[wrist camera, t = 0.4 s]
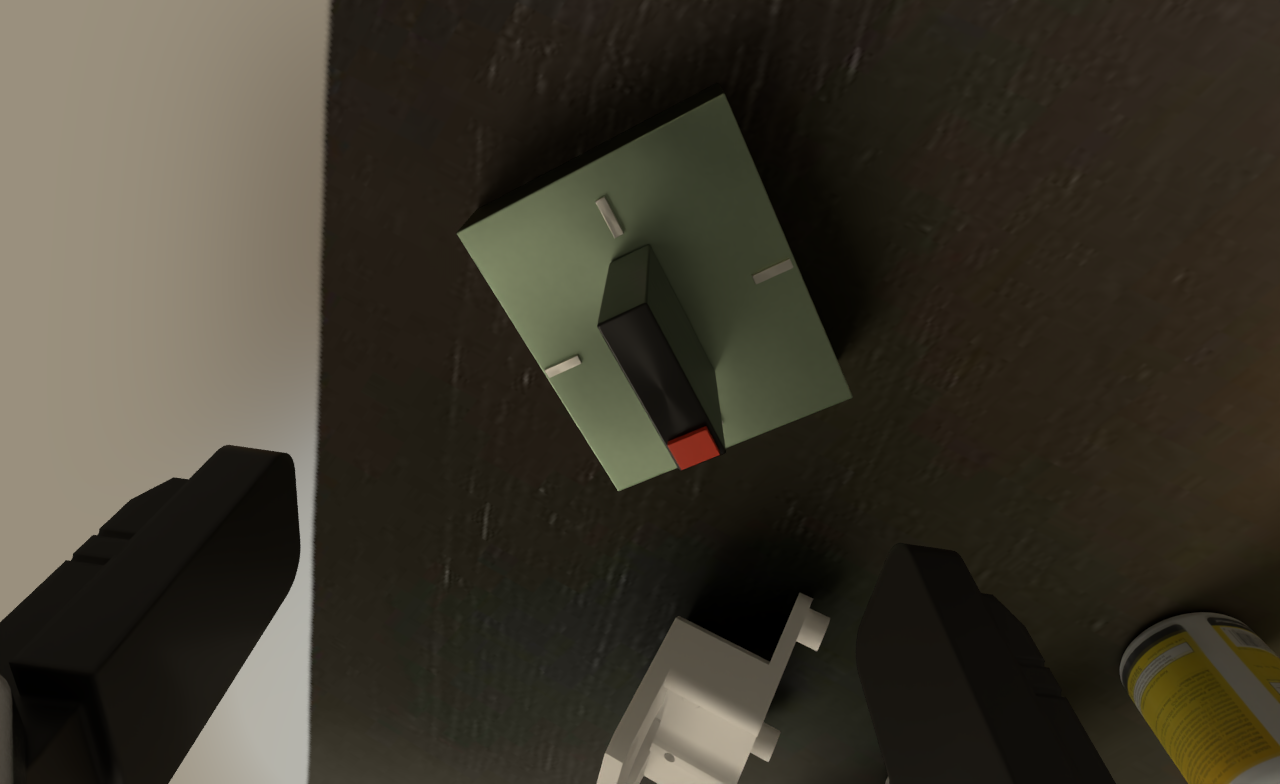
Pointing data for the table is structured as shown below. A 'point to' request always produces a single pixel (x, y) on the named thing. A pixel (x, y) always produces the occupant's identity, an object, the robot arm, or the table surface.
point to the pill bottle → (1209, 697)
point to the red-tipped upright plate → (662, 358)
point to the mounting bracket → (704, 706)
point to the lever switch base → (693, 263)
